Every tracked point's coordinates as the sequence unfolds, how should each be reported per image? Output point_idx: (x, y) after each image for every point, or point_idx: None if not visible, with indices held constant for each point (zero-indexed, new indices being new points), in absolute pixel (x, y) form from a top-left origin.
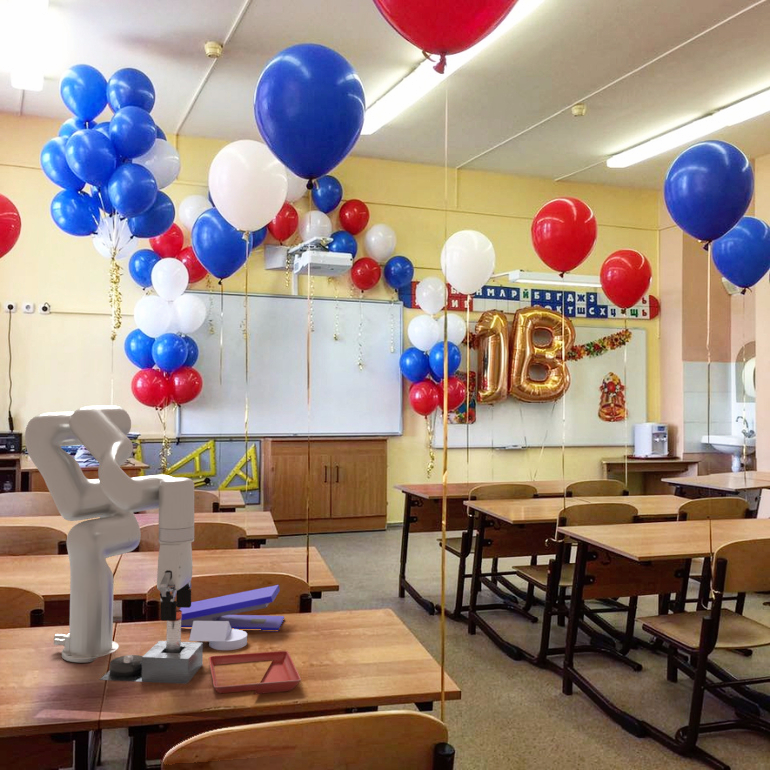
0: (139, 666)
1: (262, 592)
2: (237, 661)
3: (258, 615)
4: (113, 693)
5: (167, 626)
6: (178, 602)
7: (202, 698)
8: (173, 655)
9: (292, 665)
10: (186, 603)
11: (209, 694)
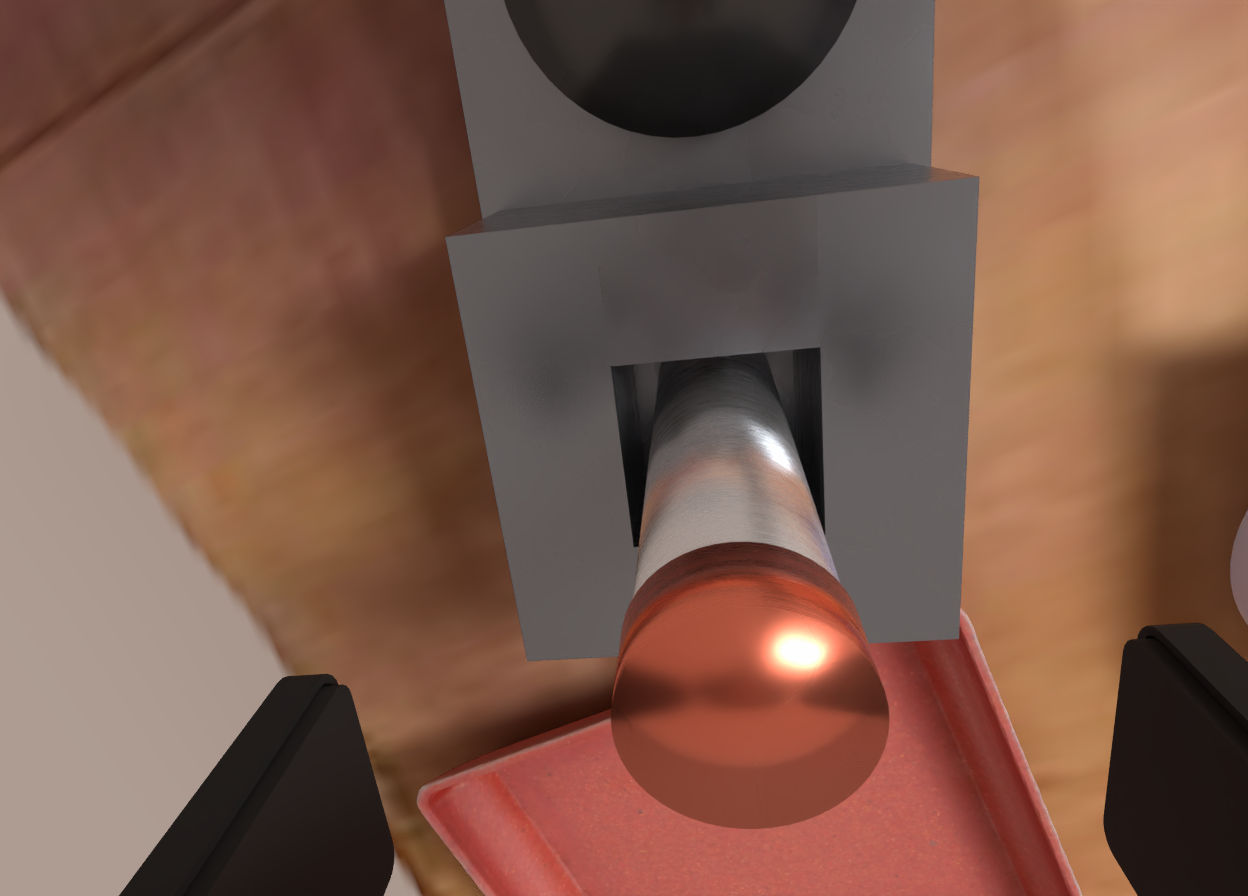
0: (607, 121)
1: None
2: (982, 740)
3: None
4: (323, 47)
5: (654, 533)
6: (1171, 726)
7: (452, 664)
8: (568, 516)
9: None
10: (1141, 849)
11: (515, 681)
